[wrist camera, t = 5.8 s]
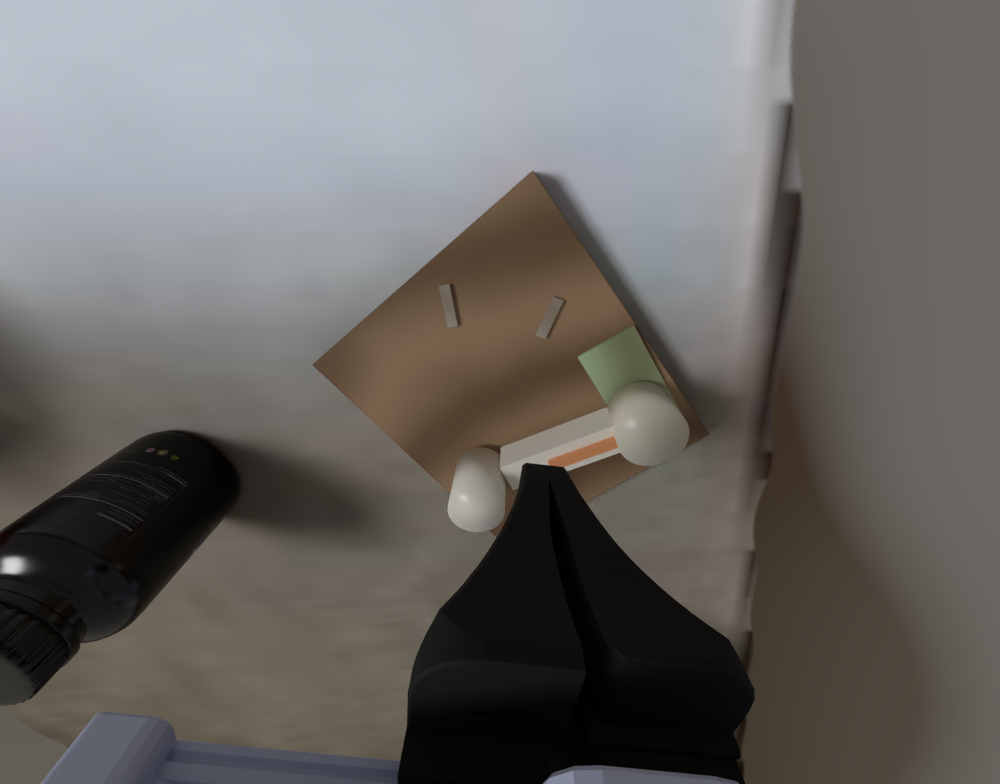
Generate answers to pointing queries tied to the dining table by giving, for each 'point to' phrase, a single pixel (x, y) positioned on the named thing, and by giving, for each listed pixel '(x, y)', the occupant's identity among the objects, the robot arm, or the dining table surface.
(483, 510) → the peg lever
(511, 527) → the robot arm
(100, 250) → the dining table surface
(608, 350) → the brown wooden board
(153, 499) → the supplement bottle
